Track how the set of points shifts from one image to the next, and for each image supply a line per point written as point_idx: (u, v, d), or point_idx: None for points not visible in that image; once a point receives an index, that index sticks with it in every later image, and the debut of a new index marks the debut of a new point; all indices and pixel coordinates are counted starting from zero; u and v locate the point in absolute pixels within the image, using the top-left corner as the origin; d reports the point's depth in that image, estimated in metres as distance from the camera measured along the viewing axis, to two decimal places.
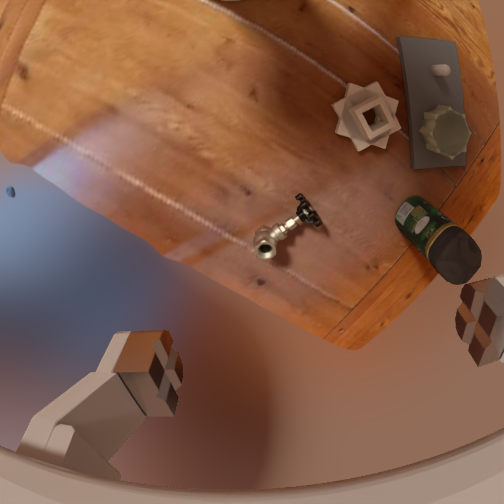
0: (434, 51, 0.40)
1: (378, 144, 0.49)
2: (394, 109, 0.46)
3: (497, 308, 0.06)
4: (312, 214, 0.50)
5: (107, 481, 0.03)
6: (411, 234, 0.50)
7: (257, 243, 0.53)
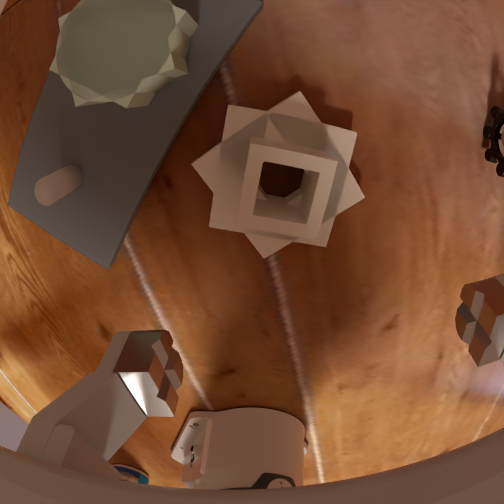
0: (53, 210, 0.23)
1: (307, 111, 0.20)
2: (214, 153, 0.21)
3: (497, 308, 0.06)
4: None
5: (107, 481, 0.03)
6: None
7: None
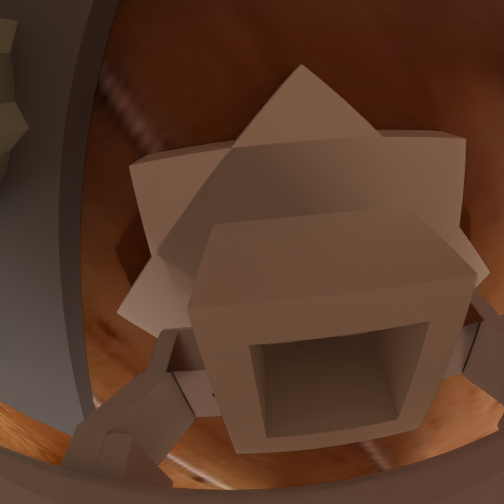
0: None
1: (339, 115, 0.07)
2: (148, 284, 0.09)
3: None
4: None
5: (107, 481, 0.03)
6: None
7: None
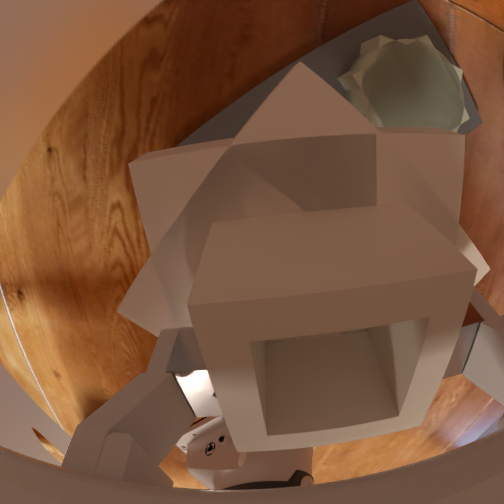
0: None
1: (337, 112, 0.07)
2: (148, 282, 0.09)
3: None
4: None
5: (107, 481, 0.03)
6: None
7: None
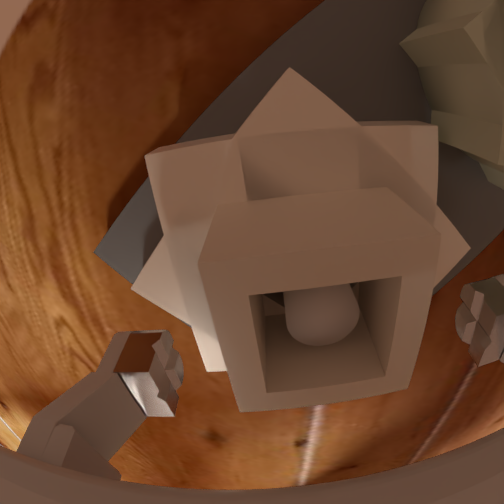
0: None
1: (322, 109, 0.08)
2: (160, 260, 0.10)
3: (497, 308, 0.06)
4: None
5: (107, 481, 0.03)
6: None
7: None
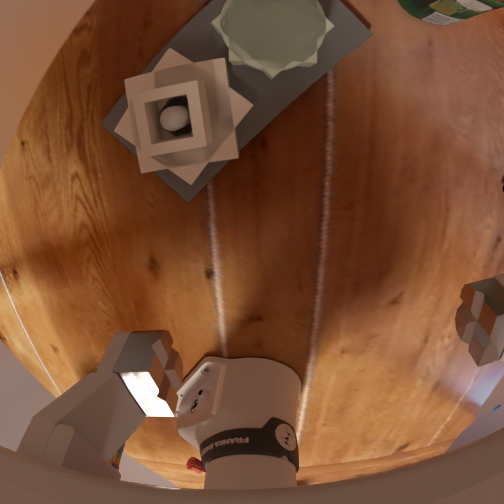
0: None
1: (179, 59, 0.23)
2: (126, 116, 0.25)
3: (497, 308, 0.06)
4: None
5: (107, 481, 0.03)
6: None
7: None
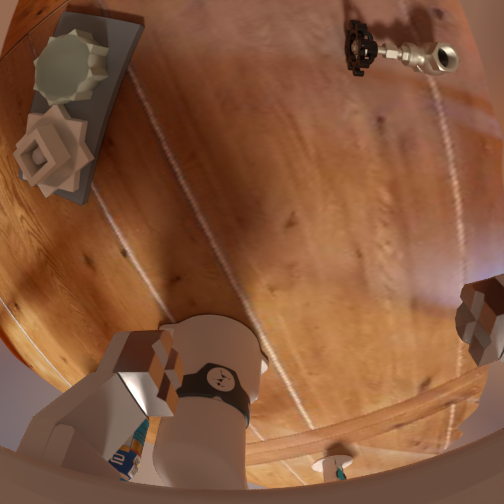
0: None
1: (35, 117, 0.31)
2: None
3: (497, 308, 0.06)
4: (363, 46, 0.24)
5: (107, 481, 0.03)
6: None
7: (447, 72, 0.25)
